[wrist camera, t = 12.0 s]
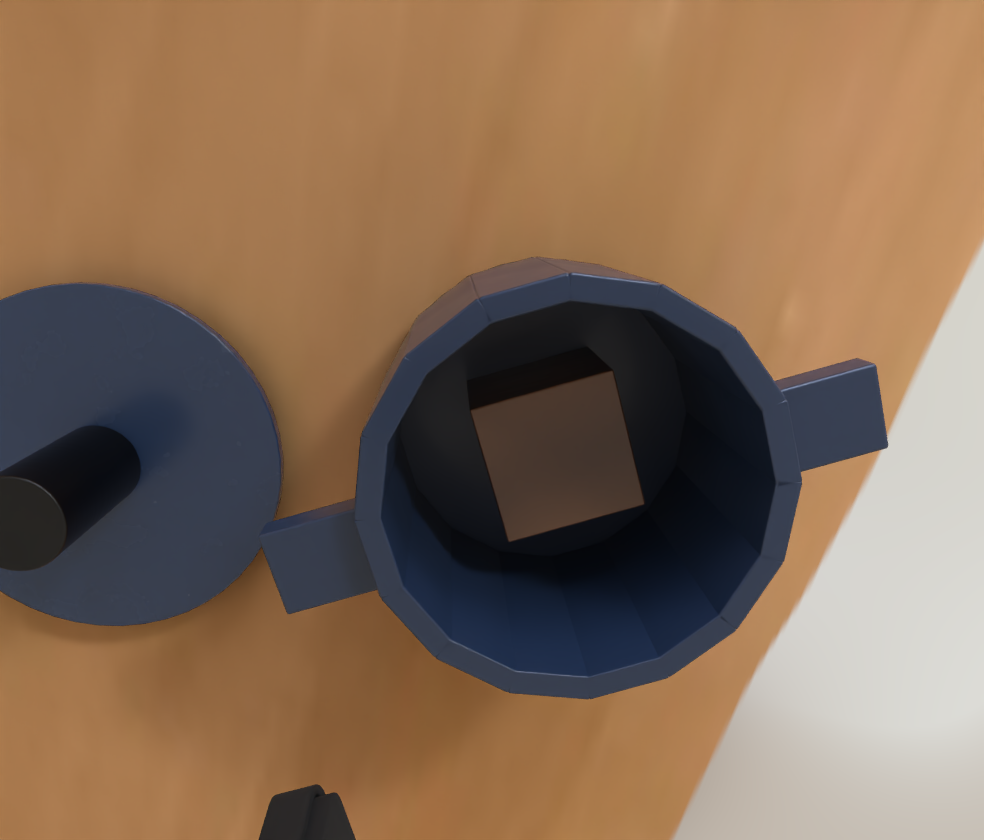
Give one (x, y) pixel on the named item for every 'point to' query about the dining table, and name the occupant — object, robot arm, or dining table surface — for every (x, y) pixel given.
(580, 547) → the pot
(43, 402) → the pot lid
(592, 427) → the block
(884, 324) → the dining table surface
